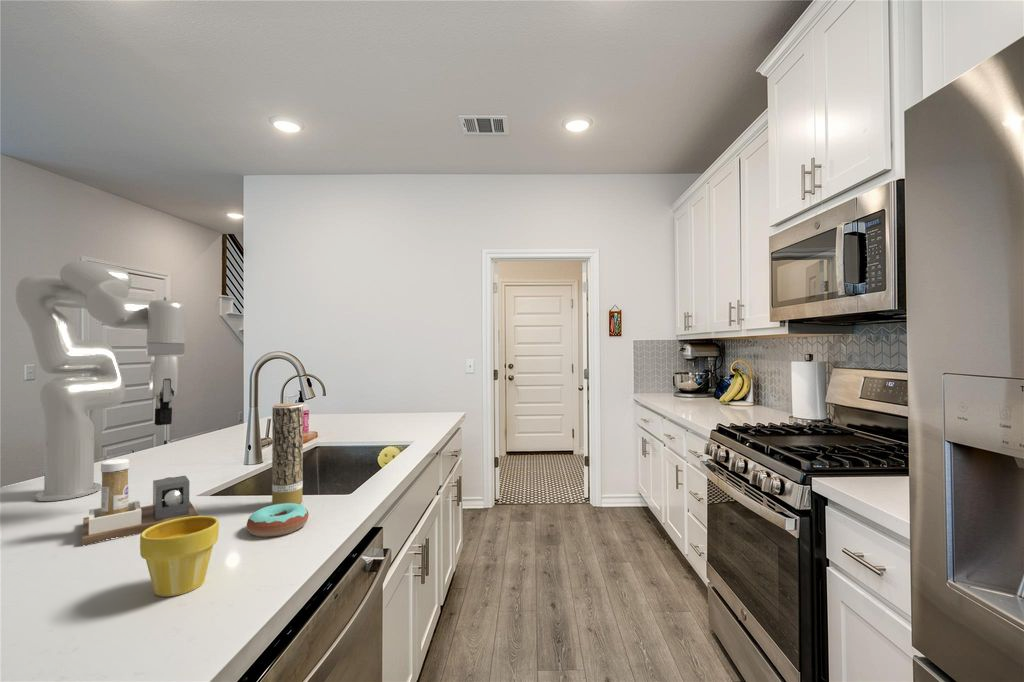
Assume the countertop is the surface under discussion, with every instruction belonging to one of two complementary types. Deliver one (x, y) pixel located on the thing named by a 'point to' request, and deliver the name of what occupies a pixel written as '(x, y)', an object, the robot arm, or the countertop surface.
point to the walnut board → (146, 523)
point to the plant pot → (179, 553)
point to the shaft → (172, 496)
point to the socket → (114, 519)
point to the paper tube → (287, 453)
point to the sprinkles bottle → (114, 486)
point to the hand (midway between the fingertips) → (163, 424)
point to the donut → (277, 520)
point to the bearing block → (159, 505)
